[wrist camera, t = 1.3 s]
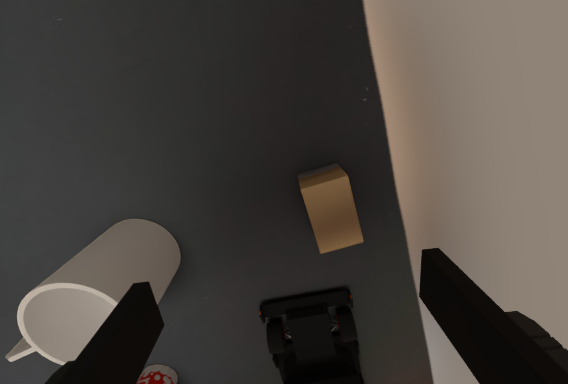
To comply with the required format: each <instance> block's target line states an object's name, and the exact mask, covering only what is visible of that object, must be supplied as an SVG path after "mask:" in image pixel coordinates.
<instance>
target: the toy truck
mask: <svg viewBox="0 0 568 384" xmlns="http://www.w3.org/2000/svg"><path fill="white" fill-rule="evenodd" d="M346 303H350V306H351V308H353V299H352V296H351V293H350V291H349V289H346V290H341V291H335V292H329V293H324V294H318V295H312V296H307V297H301V298H296V299H290V300H284V301H279V302H273V303H267V304H262V305H260V311H259V316H260V318H261V320H262V322H263V324H264V323H265V318H266V317H272V316H277V315H283V314H286V316H287V324H288V328H289V331H290V334H288V337H290V335H291V337H290V338H291V339H292V343H289V344H286V338H287V337H286V338H285V334H286V335H287V333H286V332H287V331H288V330H287V331H284V326H283V323H282V321H281V320H280V321H274V322H269V323H267V329H266V331H267V342H268V348H269V351H270V353H271V354H273V362H274V364H275V366H276V368H278V367H279V370H280V374H281V377H282V380H283V384H364V381H363V378H362V375H361V370H360V363H359V357H358V355H359V344H358V341H357V332H356V327H355V323H354V319H353V315H352V312H351V310H350V309H343V310H338V311H336V317H337V322H338V323H335V324H336V325H338V327H339V329H338V330H339V331H340V335H336V336H332V335H333V334H332V331H333V329H335V327H334V326H333V327H334V328H333V327H332V330H331V325H330V320H329V315H328V310H327V307H329V306H334V305H340V304H346ZM331 323H334V322H331ZM336 325H335V326H336ZM337 332H338V331H337ZM335 333H336V332H335ZM335 333H334V334H335ZM287 341H289V340H287Z"/></svg>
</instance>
